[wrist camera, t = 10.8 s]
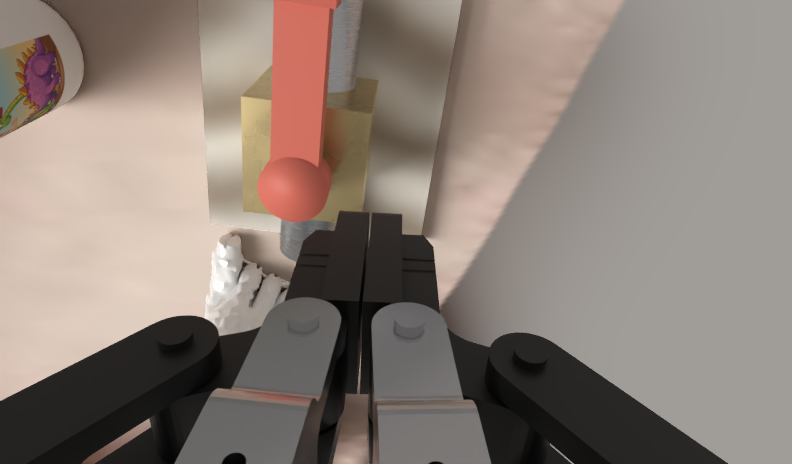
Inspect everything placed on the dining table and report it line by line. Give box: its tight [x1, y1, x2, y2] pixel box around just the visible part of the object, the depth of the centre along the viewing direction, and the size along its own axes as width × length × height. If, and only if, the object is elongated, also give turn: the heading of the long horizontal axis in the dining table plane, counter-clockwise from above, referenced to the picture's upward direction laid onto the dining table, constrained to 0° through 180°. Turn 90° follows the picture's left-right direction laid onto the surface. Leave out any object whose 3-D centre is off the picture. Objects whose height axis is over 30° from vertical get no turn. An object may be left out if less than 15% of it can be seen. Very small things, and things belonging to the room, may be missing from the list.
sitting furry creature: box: [204, 233, 290, 336], centre depth 40 cm, size 10×9×12 cm
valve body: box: [241, 0, 378, 261], centre depth 33 cm, size 17×7×7 cm, turn 173°
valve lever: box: [257, 0, 342, 222], centre depth 26 cm, size 15×4×3 cm, turn 172°
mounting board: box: [197, 0, 462, 237], centre depth 37 cm, size 18×16×2 cm
